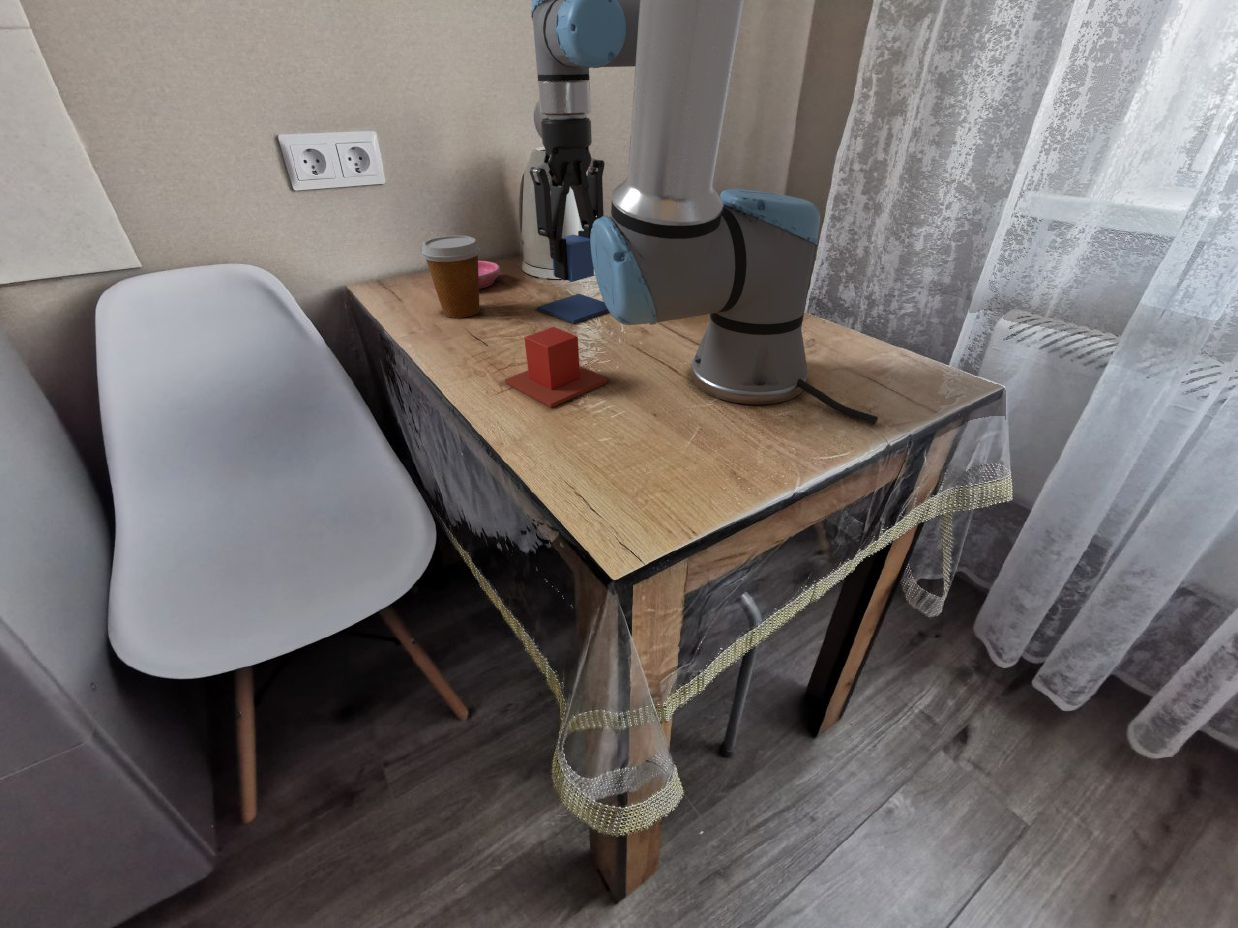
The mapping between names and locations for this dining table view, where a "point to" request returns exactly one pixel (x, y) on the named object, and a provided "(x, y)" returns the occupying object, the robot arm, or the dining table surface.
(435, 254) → the disposable coffee cup
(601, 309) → the blue mat
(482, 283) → the pink bowl
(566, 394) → the red mat
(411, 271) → the dining table surface
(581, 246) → the blue block
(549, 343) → the red block
